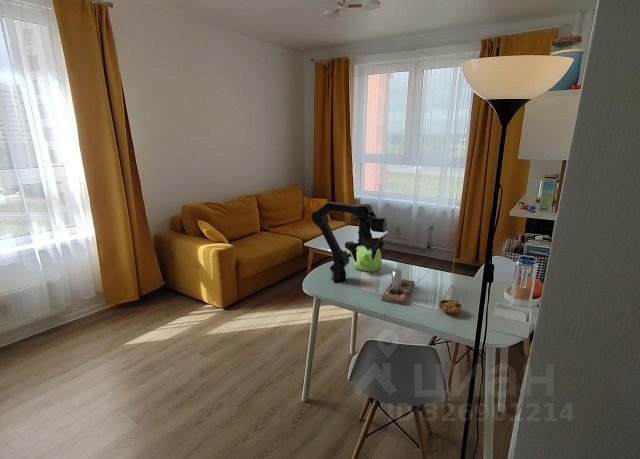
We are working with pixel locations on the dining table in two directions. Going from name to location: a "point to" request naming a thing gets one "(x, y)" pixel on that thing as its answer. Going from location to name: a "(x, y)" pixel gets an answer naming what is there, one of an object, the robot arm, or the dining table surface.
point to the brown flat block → (404, 294)
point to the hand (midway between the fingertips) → (364, 260)
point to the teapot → (367, 260)
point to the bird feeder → (450, 301)
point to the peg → (396, 282)
